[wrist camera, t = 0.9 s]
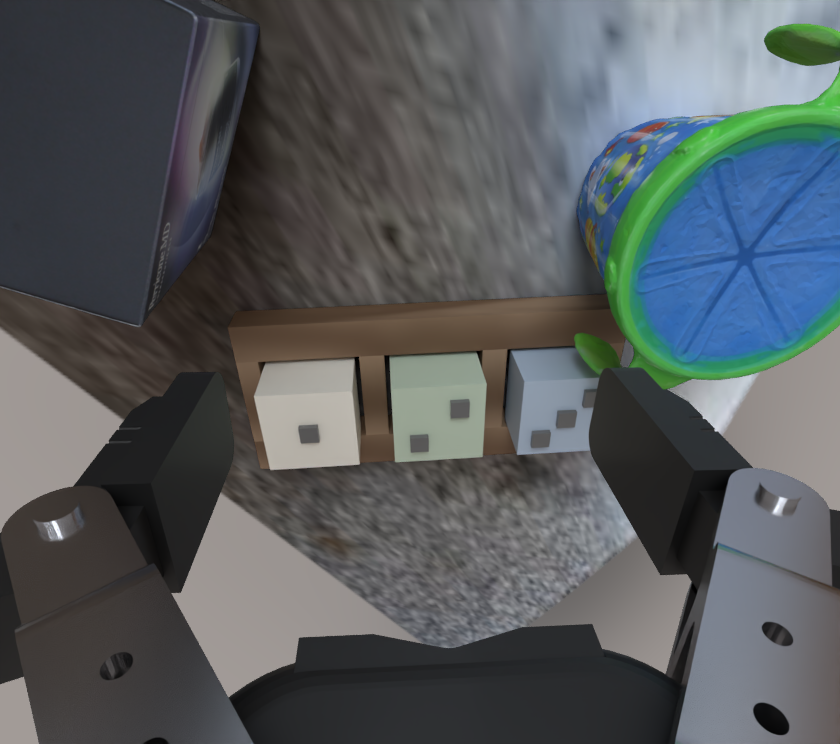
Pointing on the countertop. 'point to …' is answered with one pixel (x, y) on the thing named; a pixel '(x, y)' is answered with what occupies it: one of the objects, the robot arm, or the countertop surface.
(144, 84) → the small box
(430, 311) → the board
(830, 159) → the snack cup
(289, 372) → the tile one
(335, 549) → the countertop surface
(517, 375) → the tile three
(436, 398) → the tile two
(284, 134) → the countertop surface
